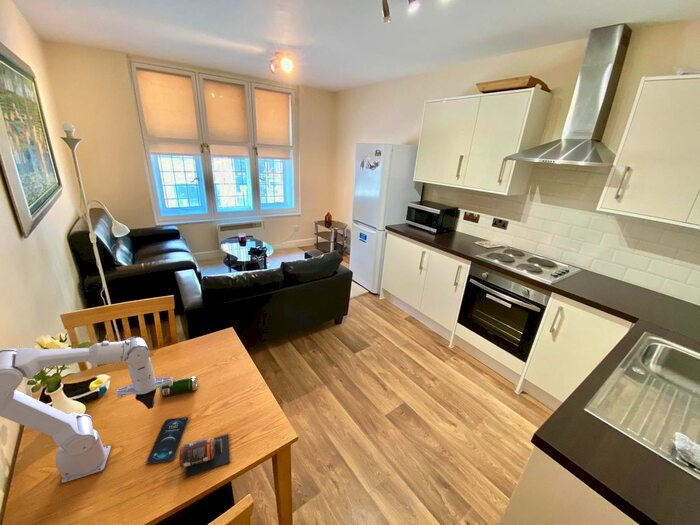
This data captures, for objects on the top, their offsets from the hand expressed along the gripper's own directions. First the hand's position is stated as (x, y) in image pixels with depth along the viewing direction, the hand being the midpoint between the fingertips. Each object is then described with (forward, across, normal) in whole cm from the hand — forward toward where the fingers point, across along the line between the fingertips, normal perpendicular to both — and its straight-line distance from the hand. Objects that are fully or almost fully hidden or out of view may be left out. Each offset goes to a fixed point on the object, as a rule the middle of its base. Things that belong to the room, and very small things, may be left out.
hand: (151, 406), depth 94 cm
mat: (+10, -16, +16) cm, 25 cm away
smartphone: (+10, -4, +6) cm, 13 cm away
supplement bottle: (+7, -9, +16) cm, 20 cm away
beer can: (+8, 0, -15) cm, 17 cm away
